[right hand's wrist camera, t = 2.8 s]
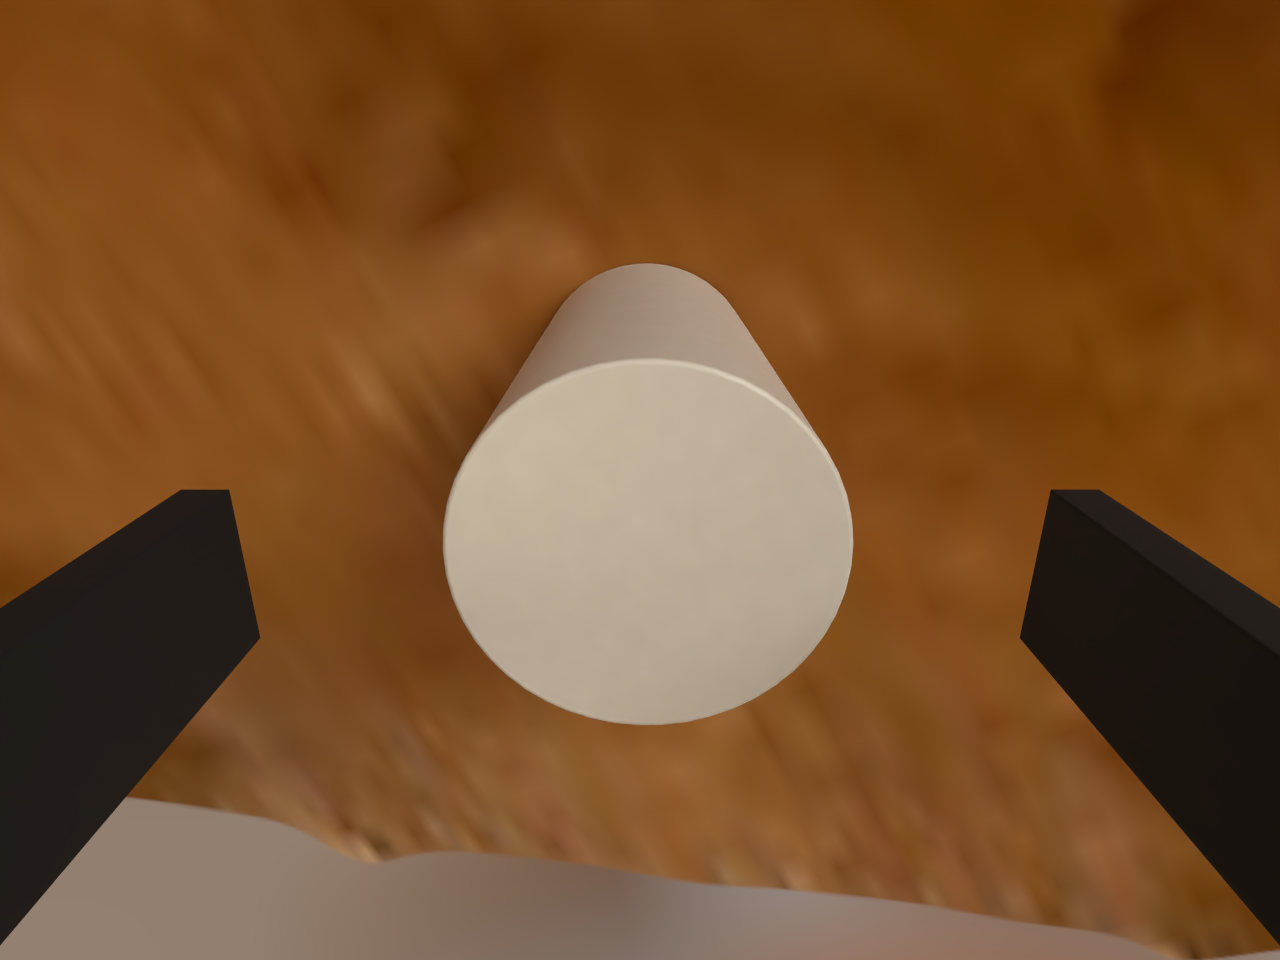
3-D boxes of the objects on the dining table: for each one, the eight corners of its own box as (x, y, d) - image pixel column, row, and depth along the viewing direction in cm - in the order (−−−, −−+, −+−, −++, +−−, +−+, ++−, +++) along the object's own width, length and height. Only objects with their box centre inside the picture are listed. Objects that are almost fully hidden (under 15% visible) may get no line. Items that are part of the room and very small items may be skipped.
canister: (754, 461, 24) (851, 715, 13) (555, 476, 24) (478, 739, 13) (747, 253, 21) (859, 340, 10) (526, 273, 22) (402, 378, 11)
